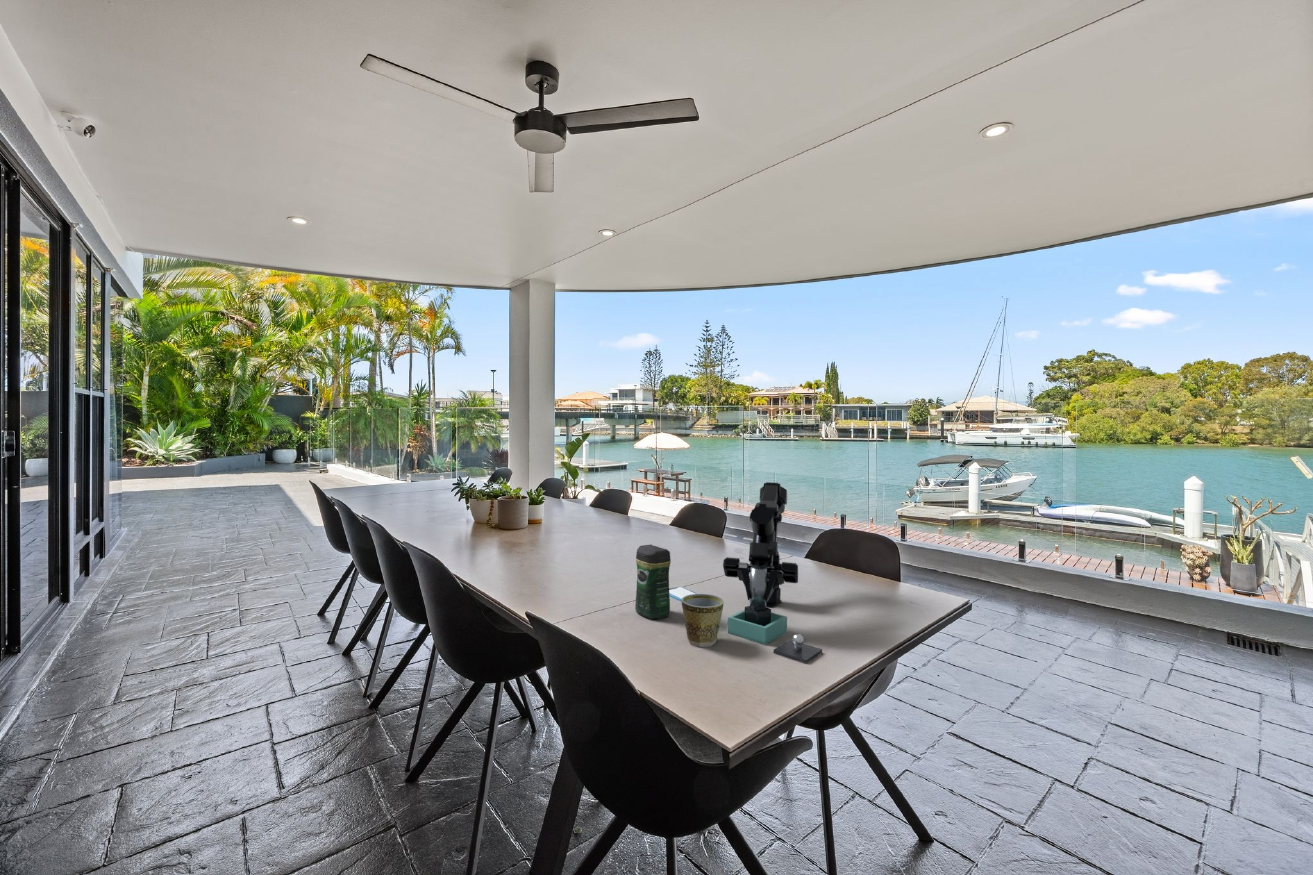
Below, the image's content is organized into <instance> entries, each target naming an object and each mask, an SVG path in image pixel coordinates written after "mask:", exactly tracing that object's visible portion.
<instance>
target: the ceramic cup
mask: <svg viewBox="0 0 1313 875" xmlns="http://www.w3.org/2000/svg"><path fill="white" fill-rule="evenodd" d="M681 608H682V614H683V617H684V623H685V624H684V625H685V630H686V636H687V637H686V638H687V640H688V642H689V644H690V645H691V646H694V647H698V648H710V647H712V646H713V645H715V644H716V643H717V639H718V635H719V629H720V625H721V624H720V623H721V620H722V615H723V610H724V599H723V598H721V597H719V596H717V595H714V594H710V593H709V594H708V593H697V594H691V595H687V596H685V597H683V598H682V602H681Z"/></svg>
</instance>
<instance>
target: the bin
mask: <svg viewBox="0 0 1313 875" xmlns="http://www.w3.org/2000/svg"><path fill="white" fill-rule="evenodd" d="M744 620H745V609H743V610H741V611H739V612H736V613H734V614H731V615H729V616H728V617H727V634H729V635H732V636H734V637H735V636H736V637H739V638H742V639H745V640H748V641H751V642H753V643H754V642H755V643H756V644H761V645H764V646H766V645H768V644H770V643H771V642H773V641H775V640H777V639H778V638H780V637H782V636H783V635H785V634H787V633H788V616H786V615H783V614H782V615H781V614H778V613H775V612H772V611H771V623H770V624H768V625H766V626H761V625H757V624H754V623H751V622H747V621H744Z"/></svg>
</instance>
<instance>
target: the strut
mask: <svg viewBox="0 0 1313 875" xmlns="http://www.w3.org/2000/svg"><path fill="white" fill-rule="evenodd" d="M749 576H750V600H749V605H747V606H744V610H745V620H744V621H747V622H751V623H754V624H757V625H761V626H766V625H768V624H770V623H771V612H772V609H771V607H768V606H766V587H767V568H765V567H762V566H752V567H751V569H750V573H749Z"/></svg>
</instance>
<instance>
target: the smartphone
mask: <svg viewBox="0 0 1313 875" xmlns="http://www.w3.org/2000/svg"><path fill="white" fill-rule="evenodd" d="M691 594H698V593H697V592H694V591H692V590H691V589H688V588H686V587H683V586H676V587H671V588H670V587H669V597H670V598H673V599H675V600H676V601H679V602H681V603H682V598H683V597H685V596H687V595H691Z"/></svg>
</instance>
